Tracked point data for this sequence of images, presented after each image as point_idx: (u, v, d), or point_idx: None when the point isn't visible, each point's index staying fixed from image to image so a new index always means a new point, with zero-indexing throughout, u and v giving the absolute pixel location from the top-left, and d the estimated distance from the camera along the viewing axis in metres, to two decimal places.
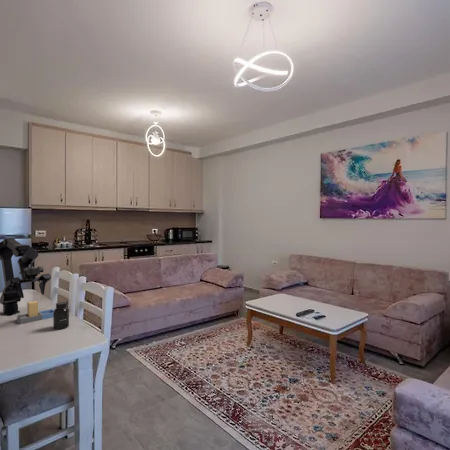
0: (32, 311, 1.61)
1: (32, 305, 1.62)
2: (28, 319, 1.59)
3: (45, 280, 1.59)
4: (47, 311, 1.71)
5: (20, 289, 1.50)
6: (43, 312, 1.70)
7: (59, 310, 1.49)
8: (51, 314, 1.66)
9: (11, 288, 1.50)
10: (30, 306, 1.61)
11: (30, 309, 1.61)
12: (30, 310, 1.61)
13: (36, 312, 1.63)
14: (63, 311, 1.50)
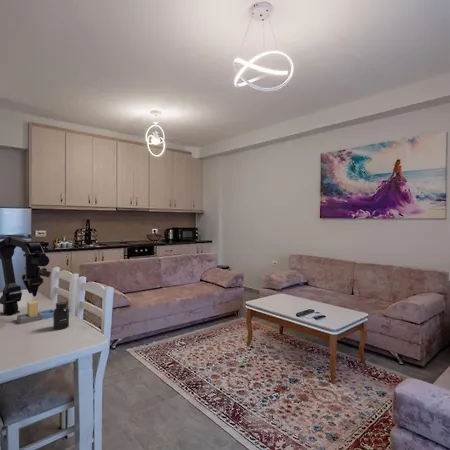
0: (32, 311, 1.61)
1: (32, 305, 1.62)
2: (28, 319, 1.59)
3: None
4: (47, 311, 1.71)
5: None
6: (43, 312, 1.70)
7: (59, 310, 1.49)
8: (51, 314, 1.66)
9: (30, 285, 1.56)
10: (30, 306, 1.61)
11: (30, 309, 1.61)
12: (30, 310, 1.61)
13: (36, 312, 1.63)
14: (63, 311, 1.50)
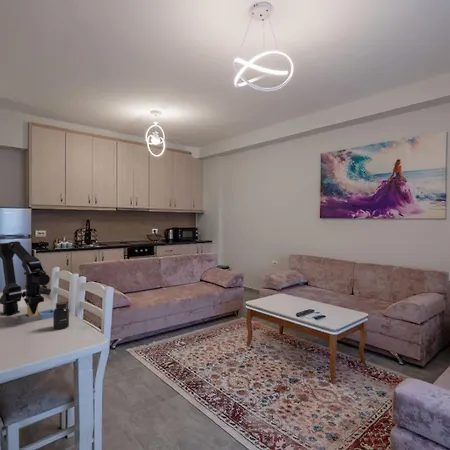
0: None
1: None
2: (28, 319, 1.59)
3: None
4: (47, 311, 1.71)
5: None
6: (43, 312, 1.70)
7: (59, 310, 1.49)
8: (51, 314, 1.66)
9: (30, 303, 1.58)
10: None
11: (30, 309, 1.61)
12: (30, 310, 1.61)
13: (36, 312, 1.63)
14: (63, 311, 1.50)
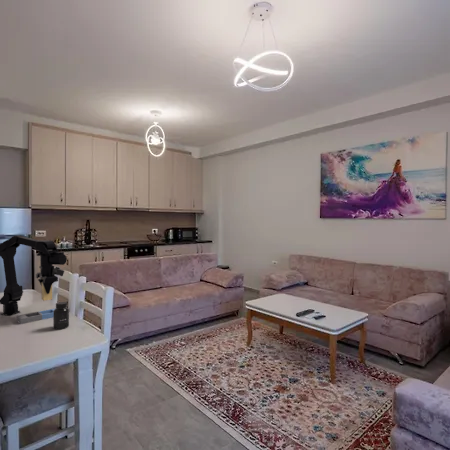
0: None
1: None
2: (28, 319, 1.59)
3: None
4: (47, 311, 1.71)
5: None
6: (43, 312, 1.70)
7: (59, 310, 1.49)
8: (51, 314, 1.66)
9: (44, 283, 1.62)
10: None
11: (44, 289, 1.65)
12: (44, 290, 1.65)
13: (50, 292, 1.67)
14: (63, 311, 1.50)
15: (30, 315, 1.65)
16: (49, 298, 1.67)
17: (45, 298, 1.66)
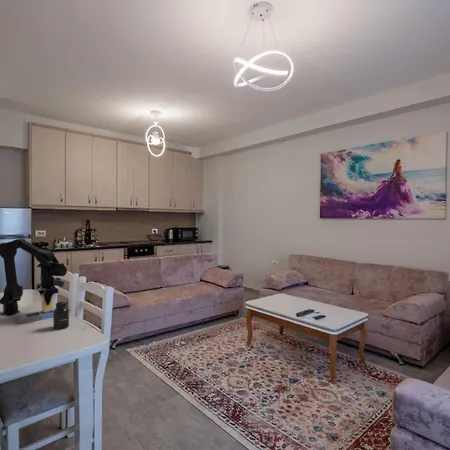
0: None
1: None
2: (28, 319, 1.59)
3: None
4: (47, 311, 1.71)
5: None
6: (43, 312, 1.70)
7: (59, 310, 1.49)
8: (51, 314, 1.66)
9: (45, 294, 1.63)
10: None
11: (44, 300, 1.66)
12: (44, 301, 1.66)
13: (50, 303, 1.68)
14: (63, 311, 1.50)
15: (30, 315, 1.65)
16: (49, 309, 1.67)
17: (45, 309, 1.66)
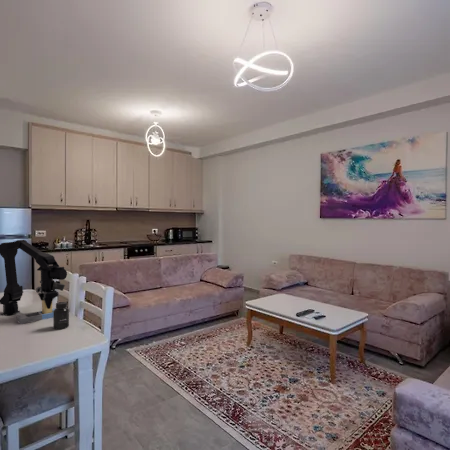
0: (46, 308, 1.66)
1: None
2: (28, 319, 1.59)
3: None
4: None
5: None
6: None
7: (59, 310, 1.49)
8: (51, 314, 1.66)
9: (45, 298, 1.62)
10: None
11: (45, 306, 1.66)
12: (45, 307, 1.66)
13: (50, 309, 1.68)
14: (63, 311, 1.50)
15: (30, 315, 1.65)
16: None
17: None
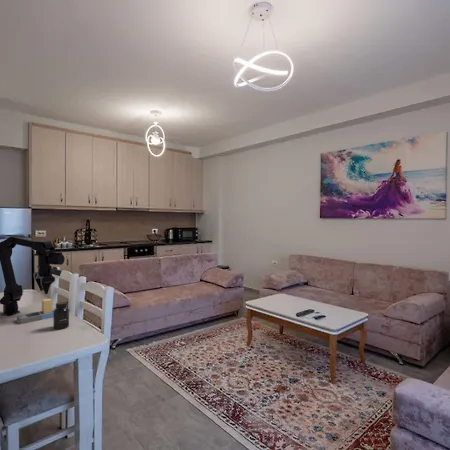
0: (46, 308, 1.66)
1: (46, 302, 1.66)
2: (28, 319, 1.59)
3: None
4: None
5: None
6: None
7: (59, 310, 1.49)
8: (51, 314, 1.66)
9: (43, 283, 1.63)
10: (45, 303, 1.66)
11: (45, 306, 1.66)
12: (45, 307, 1.66)
13: (50, 309, 1.68)
14: (63, 311, 1.50)
15: (30, 315, 1.65)
16: None
17: None
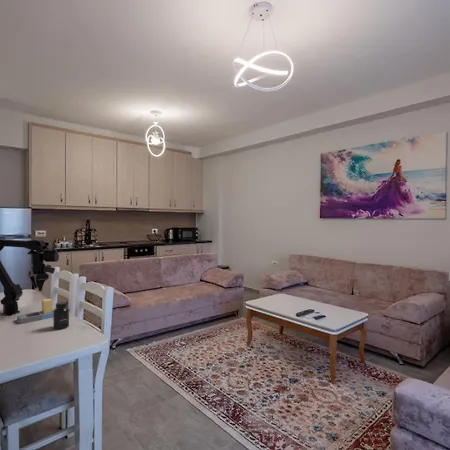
0: (46, 308, 1.66)
1: (46, 303, 1.66)
2: (28, 319, 1.59)
3: None
4: None
5: None
6: None
7: (59, 310, 1.49)
8: (51, 314, 1.66)
9: (37, 280, 1.67)
10: (45, 303, 1.66)
11: (45, 306, 1.66)
12: (45, 307, 1.66)
13: (50, 309, 1.68)
14: (63, 311, 1.50)
15: (30, 315, 1.65)
16: None
17: None
